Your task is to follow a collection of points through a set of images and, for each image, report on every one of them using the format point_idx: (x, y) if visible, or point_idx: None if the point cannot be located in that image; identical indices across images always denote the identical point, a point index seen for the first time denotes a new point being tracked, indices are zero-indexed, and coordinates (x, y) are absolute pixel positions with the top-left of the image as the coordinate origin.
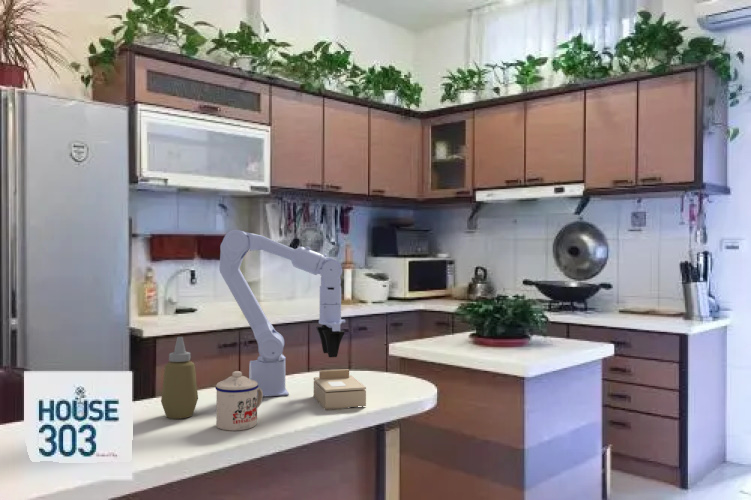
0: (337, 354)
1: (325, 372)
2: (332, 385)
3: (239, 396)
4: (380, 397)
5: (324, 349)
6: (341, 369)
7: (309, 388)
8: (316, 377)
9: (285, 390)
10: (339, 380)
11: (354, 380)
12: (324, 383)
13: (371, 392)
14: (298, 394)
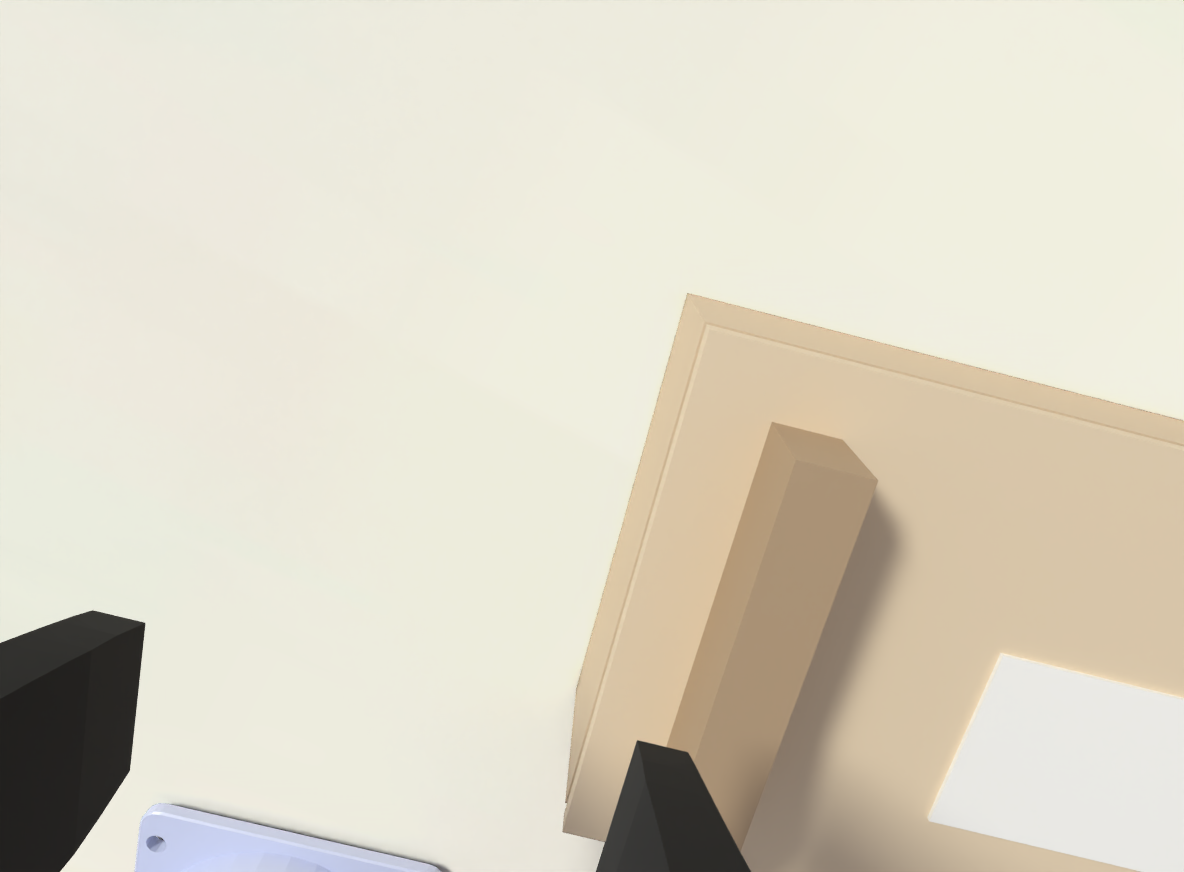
0: (697, 776)
1: (742, 820)
2: (1138, 855)
3: None
4: (1064, 50)
5: (76, 826)
6: (760, 572)
7: (229, 579)
8: (574, 801)
9: (309, 860)
10: (920, 644)
11: (1054, 462)
12: (950, 867)
13: (768, 11)
14: (434, 772)
